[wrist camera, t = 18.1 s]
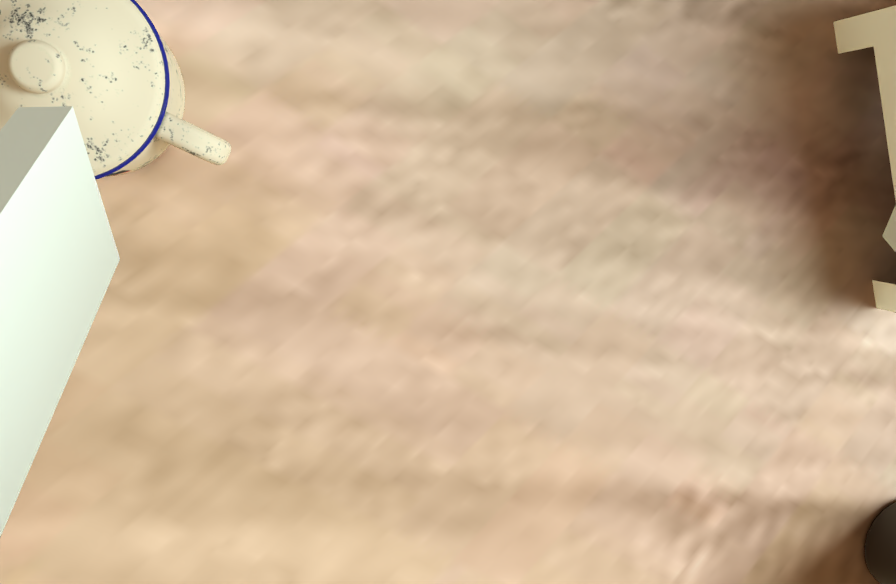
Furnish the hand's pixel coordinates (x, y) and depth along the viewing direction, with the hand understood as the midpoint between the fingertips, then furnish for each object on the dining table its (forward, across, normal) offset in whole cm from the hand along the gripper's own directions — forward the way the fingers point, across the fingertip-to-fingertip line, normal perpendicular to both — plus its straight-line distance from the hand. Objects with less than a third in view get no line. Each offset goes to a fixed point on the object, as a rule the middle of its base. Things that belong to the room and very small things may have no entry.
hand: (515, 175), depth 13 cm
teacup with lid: (+29, -16, -13) cm, 36 cm away
